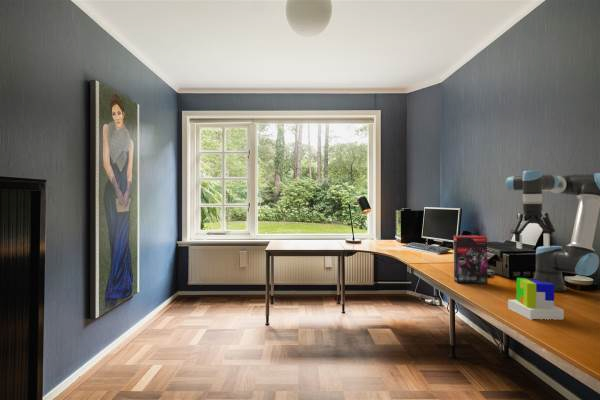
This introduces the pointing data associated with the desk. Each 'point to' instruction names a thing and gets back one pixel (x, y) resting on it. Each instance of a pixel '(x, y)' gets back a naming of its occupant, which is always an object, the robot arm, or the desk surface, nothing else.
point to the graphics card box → (470, 259)
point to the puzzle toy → (535, 293)
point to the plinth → (536, 311)
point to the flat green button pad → (490, 272)
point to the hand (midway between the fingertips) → (532, 247)
